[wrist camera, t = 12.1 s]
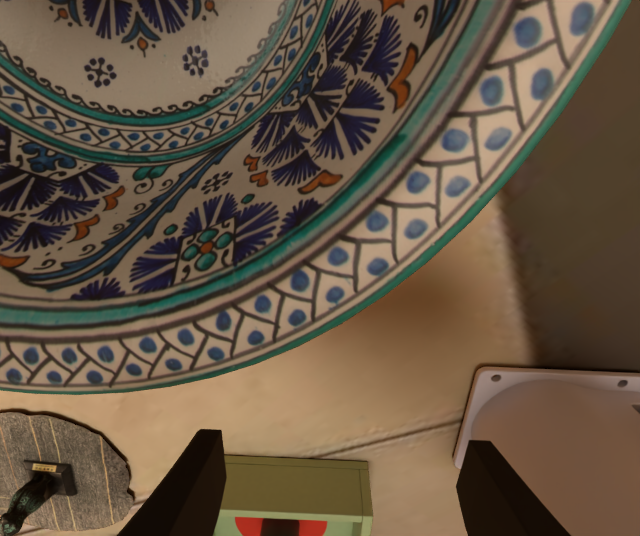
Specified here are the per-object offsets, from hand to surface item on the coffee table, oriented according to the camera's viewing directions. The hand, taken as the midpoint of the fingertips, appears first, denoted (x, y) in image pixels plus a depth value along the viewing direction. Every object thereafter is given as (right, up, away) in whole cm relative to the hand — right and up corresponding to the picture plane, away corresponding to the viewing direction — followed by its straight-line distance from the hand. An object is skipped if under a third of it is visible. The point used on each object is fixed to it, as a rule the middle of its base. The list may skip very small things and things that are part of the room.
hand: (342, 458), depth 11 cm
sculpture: (-20, -9, +15) cm, 26 cm away
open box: (-3, -12, +16) cm, 20 cm away
